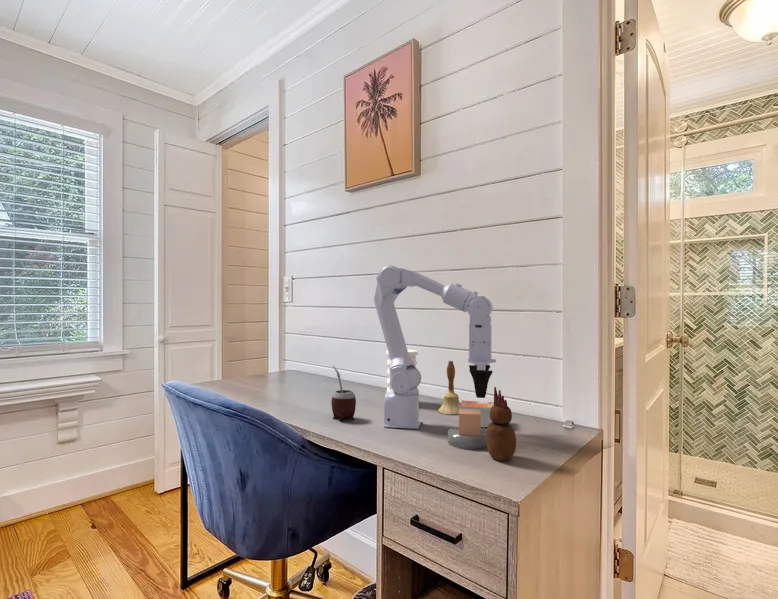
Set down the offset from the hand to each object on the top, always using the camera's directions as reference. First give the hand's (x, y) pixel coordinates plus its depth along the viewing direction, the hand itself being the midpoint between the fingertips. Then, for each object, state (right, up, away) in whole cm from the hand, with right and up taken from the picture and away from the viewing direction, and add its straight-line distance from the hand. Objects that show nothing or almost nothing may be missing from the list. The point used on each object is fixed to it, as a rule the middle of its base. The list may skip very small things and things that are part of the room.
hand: (480, 394), depth 111 cm
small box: (+7, -7, +8) cm, 13 cm away
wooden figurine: (0, -10, -19) cm, 21 cm away
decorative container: (-19, -11, +35) cm, 41 cm away
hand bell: (-4, -11, +23) cm, 26 cm away
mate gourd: (-37, -10, +13) cm, 41 cm away
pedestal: (-5, -10, -9) cm, 14 cm away
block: (-4, -7, -9) cm, 12 cm away
